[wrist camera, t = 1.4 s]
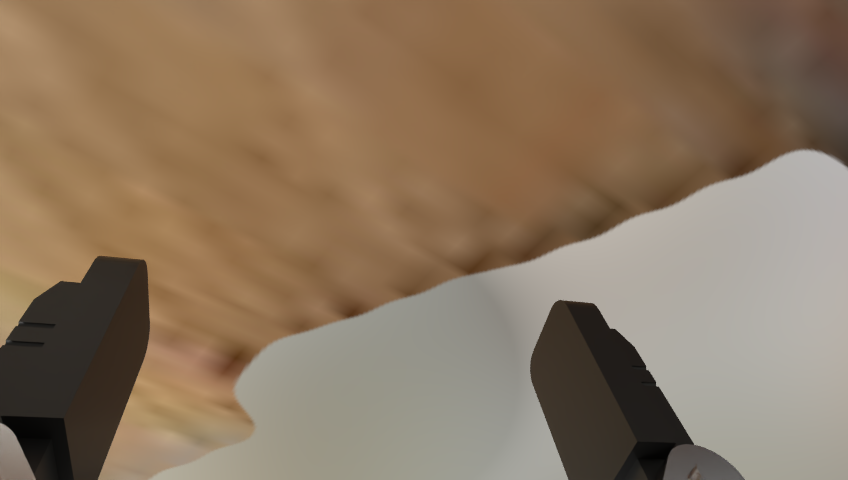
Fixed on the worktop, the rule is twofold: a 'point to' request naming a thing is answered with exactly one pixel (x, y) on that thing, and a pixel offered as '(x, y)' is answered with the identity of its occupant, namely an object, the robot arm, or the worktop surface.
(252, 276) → the worktop surface
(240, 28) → the worktop surface
